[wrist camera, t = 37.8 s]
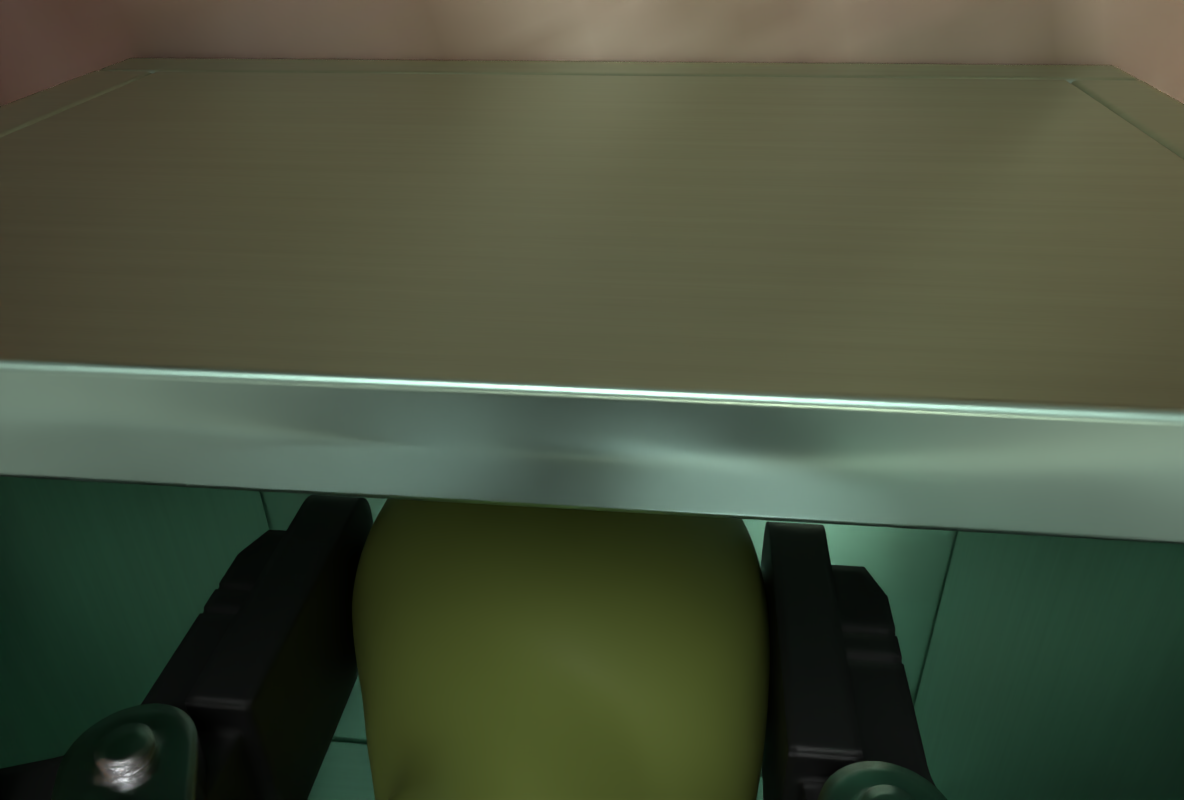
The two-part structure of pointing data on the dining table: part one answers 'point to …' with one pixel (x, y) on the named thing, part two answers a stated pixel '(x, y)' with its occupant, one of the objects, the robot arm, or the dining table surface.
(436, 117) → the box
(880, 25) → the dining table surface
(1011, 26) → the dining table surface
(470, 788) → the pear
